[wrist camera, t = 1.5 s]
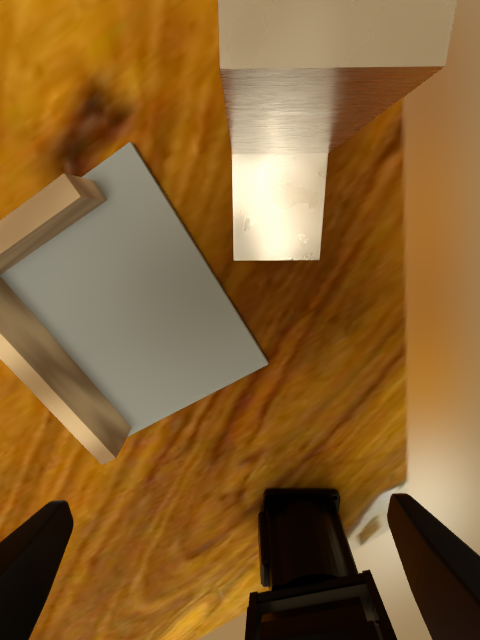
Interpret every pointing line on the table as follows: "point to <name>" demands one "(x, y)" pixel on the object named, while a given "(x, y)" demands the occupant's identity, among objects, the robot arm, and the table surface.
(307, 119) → the bracket
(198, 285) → the slate board
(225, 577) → the table surface
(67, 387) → the board walls
